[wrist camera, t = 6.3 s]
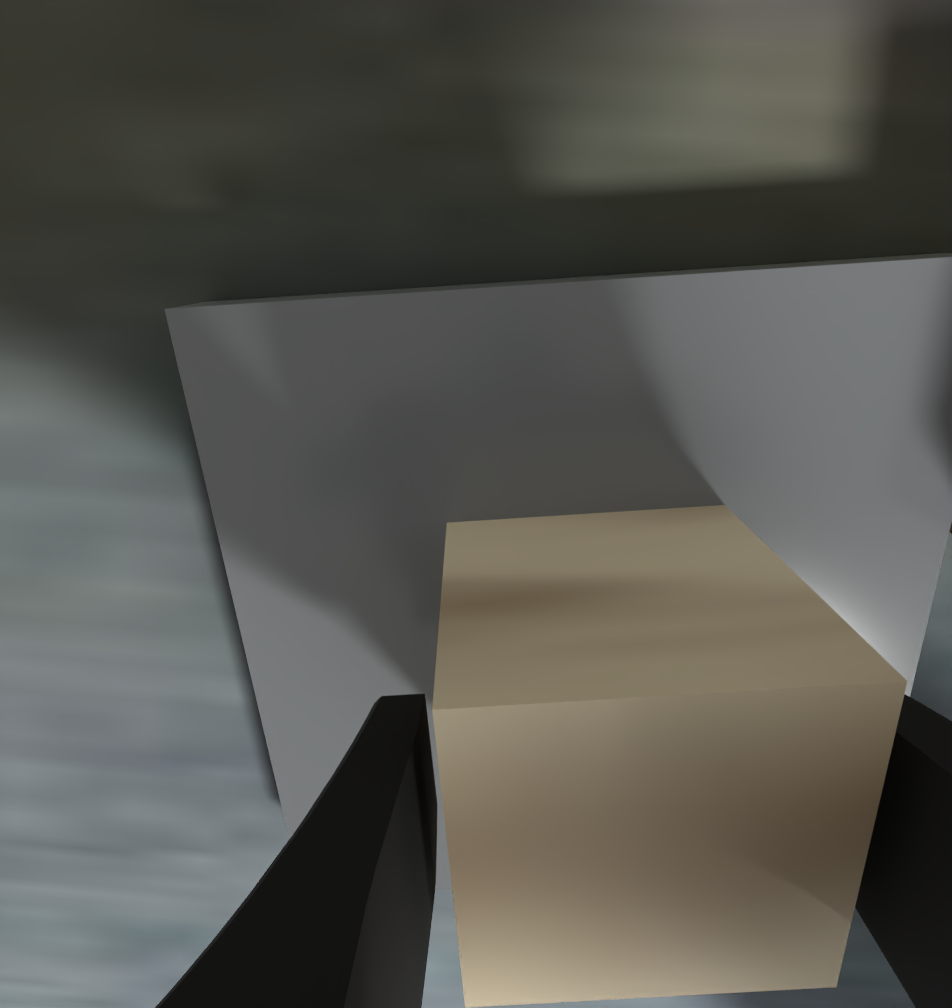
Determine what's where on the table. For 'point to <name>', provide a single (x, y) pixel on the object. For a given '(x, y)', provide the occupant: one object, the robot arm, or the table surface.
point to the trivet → (556, 454)
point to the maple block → (650, 759)
